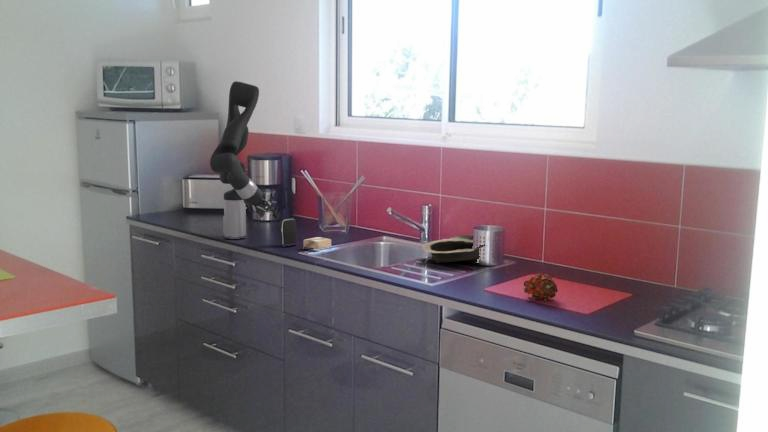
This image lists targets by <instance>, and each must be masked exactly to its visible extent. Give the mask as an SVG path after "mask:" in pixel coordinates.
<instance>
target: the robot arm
mask: <svg viewBox="0 0 768 432" xmlns="http://www.w3.org/2000/svg"><path fill="white" fill-rule="evenodd" d="M259 95H260V89H259V87H258V86H256V85H253V84H249V83H245V82H242V81H237V80H236V81H233V82H232V84H231V85H230V89H229V95H228V111H227V112H228V113H227V120H226V121H227V122H226V127H225V128H224V130H223V133H222V137H221V139H220V142H219V144H218V145H217V147H216V148H215V149H214V151H213V152H212V154H211V157H210V159H209V166H210V168H211V169H210V170H211V171H212V172H214V173H216V174H219V180H220V182H221V183H222V184H225V185H230V186H231V187H232V189H230V190H228V191H225V192H224V193H223V213H224V215H223V216H222V229H223V230H222V232H223V234H224V235H225V236H232V237H239V236H245V235H246V236H247V213H246V207H247V208H248V209H249V210H250V211H253V212H255V213H257V215H258V216H259V217H260V218H263V217H264V216H265V213H269V214H270V215H271V216H272V217H273V218H274V219H275V220H278V219H279V218H280V213H278V212H277V211H278V210H279V208H278V207H277V206H276V204H275V203H274V202H273V201H272V200H271V199H268V200H266V199H265V198H264V197H263V192H262V190H261V189H260V188H259V186H257V185H256V183H255V182H254V181H253V180H252V179H251V178H250V177H249V176H248V175H247V173H246V172H247V171H246V169H247V168H246V166H245V164H244V162H240V160H239V158H238V157H237V156H238V155H239V154H240V153H241V152H242V151H243V150H244V149H245V148H246V146H247V144H248V139H249V127H248V124H249V122H250V119H251V118H252V115H253V113H254V111H255V109H256V107H257V103H258V100H259V97H260V96H259ZM239 107H242V108H244V110H243V111H242V112H240V109H239Z"/></svg>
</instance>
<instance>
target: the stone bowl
mask: <svg viewBox="0 0 768 432" xmlns="http://www.w3.org/2000/svg"><path fill="white" fill-rule="evenodd" d="M473 236H474V235H468V234H467V235H465V234H462V235H460V234H459V235H455V236H453V237H450V238H443V239H437V240H432V241H430V242H427V243H423V245H422V247H421V248H422V250H423V251H424V252H428V253H430V254H431V257H432V258H433V260H434V262H435V263H437V264H441V263H454V262H462V261H463V262H466V263H470V264H472V265H477V264H476V262H477V259H479V257H480V256H479V248H480V249H481V248H484V247H486V246H485V244H484V245H480V246H479V247H477V248H474V249H472V246H473ZM483 246H484V247H483Z"/></svg>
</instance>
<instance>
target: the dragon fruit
mask: <svg viewBox="0 0 768 432" xmlns="http://www.w3.org/2000/svg"><path fill="white" fill-rule="evenodd" d="M523 286H524V287H523V292H524V294H527V295H531V298H532V299H533V300H535V301H536V300H538V299H539V300H540V301H545V302H546V301H548V300H549V299H554V298H556V296H557V292H559V289H558V286H557V283H556V281H555V280H554V279H553V278H552V277H551V276H550V275H548V274H545V273H544V274H543V273H536V276H533V277H530V278H529V279H527V280H525V281H524V282H523Z"/></svg>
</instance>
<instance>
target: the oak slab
mask: <svg viewBox="0 0 768 432" xmlns="http://www.w3.org/2000/svg"><path fill="white" fill-rule="evenodd" d="M302 243H303V248H304V247H307V248H313V249H322V248H326V247H330V246H331V247H332V238H331V239H330V238H326V237H321V236H316V237H311V238H305V239H303V242H302Z"/></svg>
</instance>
